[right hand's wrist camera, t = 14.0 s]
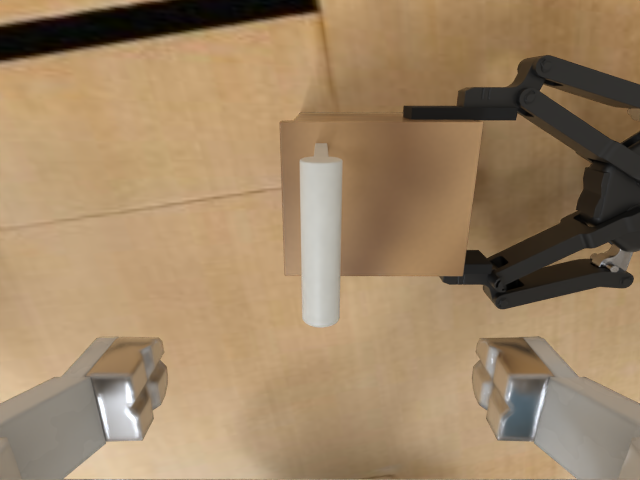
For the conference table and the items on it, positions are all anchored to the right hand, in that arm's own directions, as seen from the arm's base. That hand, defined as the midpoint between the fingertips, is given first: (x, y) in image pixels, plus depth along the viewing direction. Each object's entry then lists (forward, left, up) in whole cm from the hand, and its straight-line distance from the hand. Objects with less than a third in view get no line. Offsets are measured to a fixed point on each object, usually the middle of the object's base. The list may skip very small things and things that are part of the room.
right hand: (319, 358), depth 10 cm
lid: (+2, +3, -16) cm, 17 cm away
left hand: (+3, +5, -19) cm, 20 cm away
